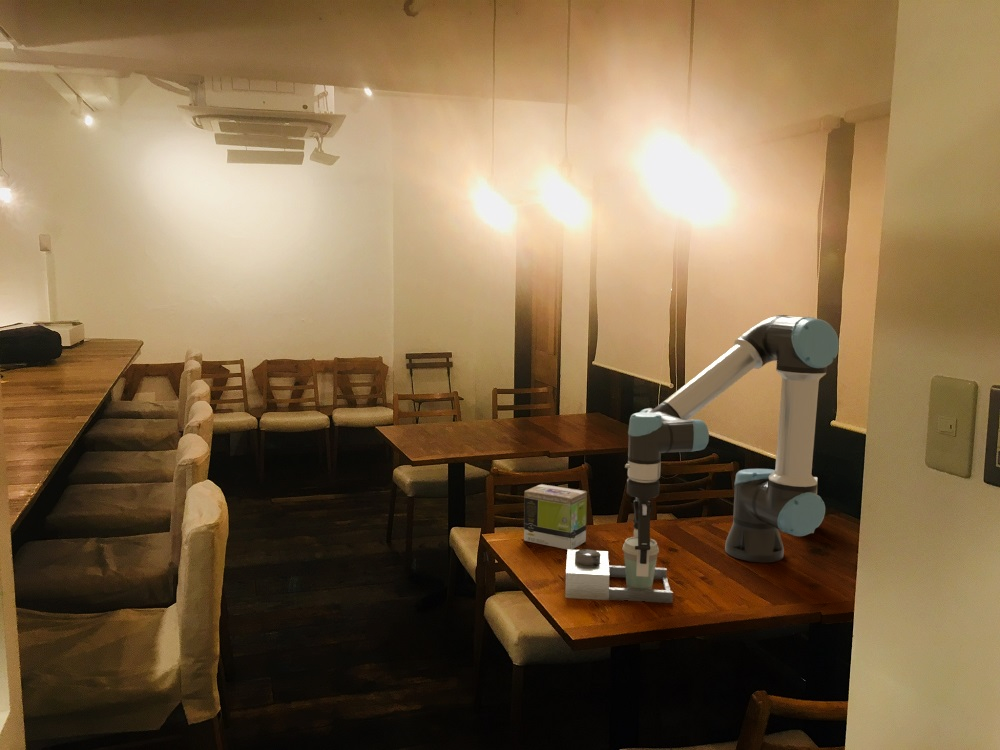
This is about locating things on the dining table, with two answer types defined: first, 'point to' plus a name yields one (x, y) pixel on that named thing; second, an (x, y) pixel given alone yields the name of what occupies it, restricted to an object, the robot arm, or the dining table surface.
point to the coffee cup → (631, 564)
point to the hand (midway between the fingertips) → (640, 565)
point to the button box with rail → (606, 579)
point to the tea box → (555, 516)
